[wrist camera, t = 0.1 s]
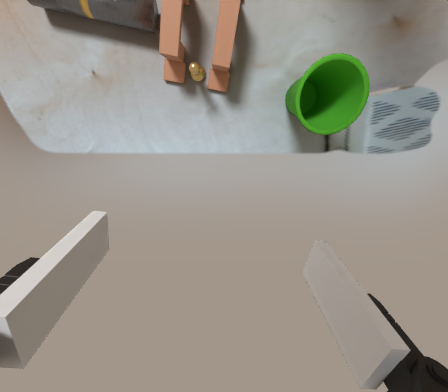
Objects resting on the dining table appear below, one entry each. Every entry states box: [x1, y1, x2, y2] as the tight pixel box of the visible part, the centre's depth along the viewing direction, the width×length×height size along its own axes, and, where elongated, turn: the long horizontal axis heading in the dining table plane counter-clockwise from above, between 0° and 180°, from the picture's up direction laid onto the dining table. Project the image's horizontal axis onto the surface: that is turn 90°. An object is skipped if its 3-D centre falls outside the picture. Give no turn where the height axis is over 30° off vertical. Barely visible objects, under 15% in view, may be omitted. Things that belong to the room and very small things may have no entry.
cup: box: [286, 53, 370, 135], centre depth 31 cm, size 9×9×11 cm
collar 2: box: [208, 0, 241, 92], centre depth 29 cm, size 15×3×6 cm, turn 170°
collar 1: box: [159, 0, 189, 84], centre depth 29 cm, size 15×3×6 cm, turn 170°
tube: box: [27, 0, 158, 33], centre depth 28 cm, size 16×4×4 cm, turn 80°
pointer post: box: [189, 62, 205, 82], centre depth 31 cm, size 2×2×6 cm
